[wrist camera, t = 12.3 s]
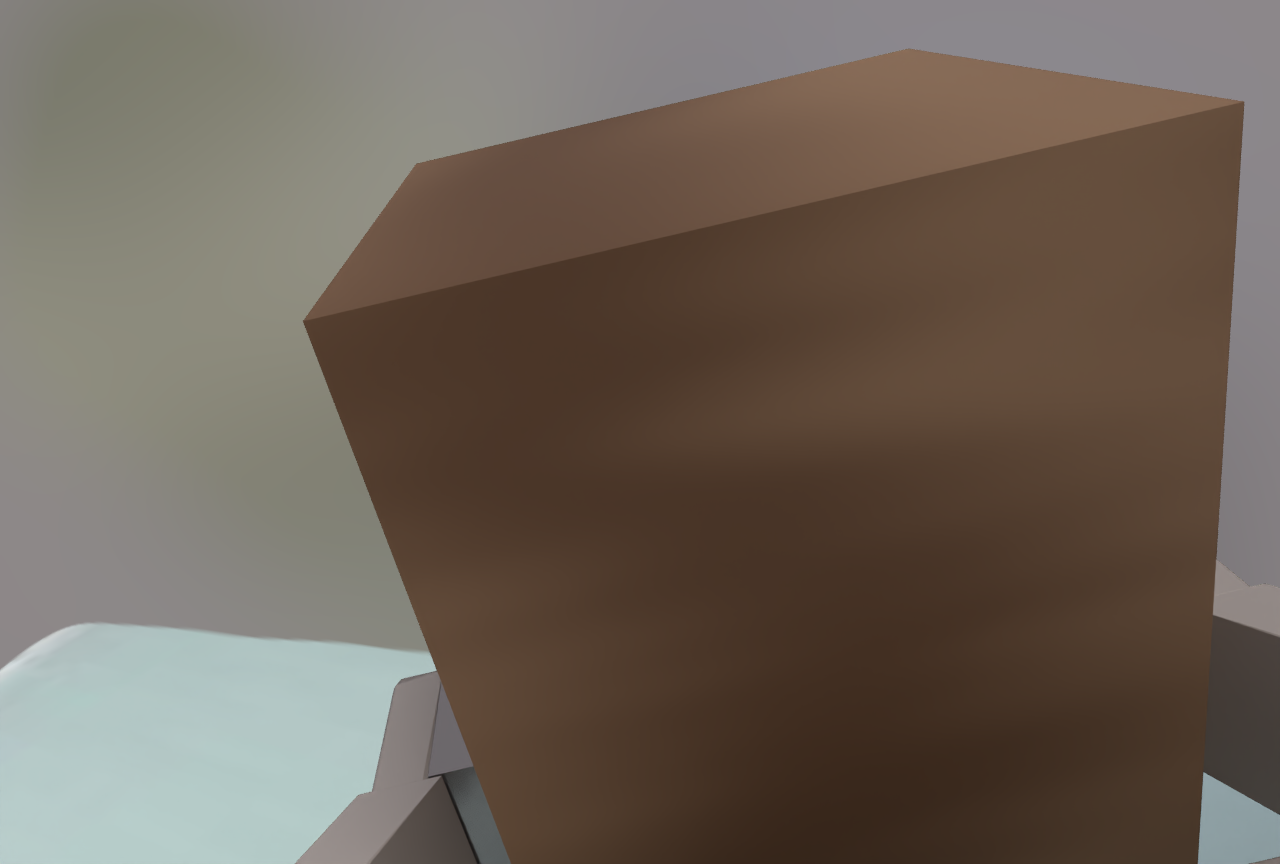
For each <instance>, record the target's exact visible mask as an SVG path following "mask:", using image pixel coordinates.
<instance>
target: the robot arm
mask: <svg viewBox="0 0 1280 864" xmlns="http://www.w3.org/2000/svg"><path fill="white" fill-rule="evenodd" d="M1203 772H1205V773H1206V774H1208V775H1210V776H1212V777H1213V778H1215V779H1217V780H1219V781H1221V782H1222V783H1224V784H1226V785H1228V786H1229V787H1231V788H1233V789H1235V790H1237V791H1238V792H1240V793H1242V794H1244V795H1245V796H1247V797H1249V798H1251V799H1253V800H1254V801H1256V802H1258V803H1260V804H1261V805H1263V806H1265V807H1267V808H1269V809H1270V810H1272V811H1274V812H1276V813H1277V814H1279V815H1280V588H1279V587H1276V586H1272V585H1269V584H1260V585H1256V586H1251V587H1250V586H1249V585H1247V584H1246V583H1245V582H1244V581H1243V580H1241V579H1240V578H1239V577H1238V576H1236V575H1235V574H1234V573H1233V572H1232V571H1230V570H1229V569H1228V568H1227V567H1225V566H1224V565H1223V564H1222V563H1221V562H1220V561H1218V560H1217V559H1216V572H1215V588H1214V604H1213V621H1212V637H1211V653H1210V670H1209V686H1208V702H1207V719H1206V735H1205V751H1204V768H1203ZM295 864H511V862H510V860H509V857H508V855H507V852H506V849H505V847H504V844H503V842H502V839H501V836H500V834H499V831H498V829H497V826H496V823H495V821H494V818H493V815H492V813H491V810H490V808H489V805H488V802H487V800H486V797H485V795H484V792H483V789H482V787H481V784H480V782H479V779H478V776H477V774H476V771H475V769H474V766H473V763H472V761H471V758H470V756H469V753H468V750H467V748H466V745H465V742H464V740H463V737H462V735H461V732H460V729H459V727H458V724H457V722H456V719H455V716H454V714H453V711H452V709H451V706H450V703H449V701H448V698H447V696H446V693H445V690H444V688H443V685H442V682H441V680H440V677H439V675H438V672H437V671H434V672H430V673H426V674H421V675H417V676H413V677H408V678H404V679H401V680H400V681H399V683H398V684H397V685H396V686H395V688H394V691H393V696H392V701H391V705H390V710H389V715H388V719H387V724H386V729H385V733H384V738H383V742H382V747H381V752H380V756H379V761H378V766H377V770H376V775H375V780H374V784H373V789H372V792H369V793H364V794H360V795H358V796H357V797H356V798H355V799H354V800H353V801H352V802H351V803H350V804H349V806H348V807H347V808H346V809H345V810H344V811H343V812H342V813H341V814H340V815H339V816H338V817H337V819H336V820H335V821H334V822H333V823H332V824H331V825H330V826H329V827H328V828H327V829H326V830H325V832H324V833H323V834H322V835H321V836H320V837H319V838H318V839H317V840H316V841H315V842H314V843H313V844H312V846H311V847H310V848H309V849H308V850H307V851H306V852H305V853H304V854H303V855H302V856H301V857H300V859H299V860H298V861H297V862H296V863H295ZM1250 864H1280V857H1276V858H1272V859H1267V860H1263V861H1259V862H1254V863H1250Z"/></svg>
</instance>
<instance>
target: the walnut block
mask: <svg viewBox="0 0 1280 864" xmlns="http://www.w3.org/2000/svg"><path fill="white" fill-rule="evenodd" d="M1243 115H1244V102H1243V101H1237V100H1231V99H1224V98H1218V97H1212V96H1205V95H1199V94H1193V93H1186V92H1180V91H1174V90H1167V89H1161V88H1155V87H1148V86H1142V85H1135V84H1129V83H1123V82H1116V81H1110V80H1104V79H1098V78H1091V77H1085V76H1079V75H1072V74H1066V73H1059V72H1053V71H1047V70H1041V69H1034V68H1028V67H1022V66H1015V65H1009V64H1003V63H996V62H990V61H984V60H977V59H971V58H965V57H958V56H952V55H946V54H939V53H933V52H927V51H920V50H914V49H905V50H901V51H896V52H892V53H888V54H884V55H879V56H875V57H871V58H867V59H862V60H858V61H854V62H850V63H845V64H841V65H837V66H833V67H828V68H824V69H819V70H815V71H811V72H807V73H803V74H798V75H794V76H790V77H785V78H781V79H777V80H773V81H768V82H764V83H760V84H756V85H751V86H747V87H742V88H738V89H734V90H730V91H725V92H721V93H717V94H713V95H708V96H704V97H700V98H696V99H691V100H687V101H683V102H678V103H674V104H670V105H666V106H661V107H657V108H653V109H648V110H644V111H640V112H635V113H631V114H627V115H623V116H619V117H614V118H610V119H606V120H601V121H597V122H593V123H588V124H584V125H580V126H576V127H571V128H567V129H563V130H558V131H554V132H550V133H546V134H541V135H537V136H533V137H529V138H525V139H520V140H516V141H512V142H507V143H503V144H499V145H494V146H490V147H486V148H482V149H478V150H473V151H469V152H465V153H460V154H456V155H452V156H447V157H443V158H439V159H434V160H430V161H426V162H422V163H417V164H416V165H415V167H414V168H413V169H412V171H411V172H410V173H409V175H408V176H407V177H406V179H405V180H404V182H403V183H402V184H401V186H400V187H399V189H398V190H397V191H396V193H395V194H394V196H393V197H392V198H391V200H390V201H389V202H388V204H387V205H386V207H385V208H384V210H383V211H382V212H381V214H380V215H379V216H378V218H377V219H376V221H375V222H374V223H373V225H372V226H371V227H370V229H369V231H368V232H367V233H366V234H365V236H364V237H363V239H362V240H361V241H360V243H359V244H358V246H357V247H356V248H355V250H354V251H353V253H352V254H351V255H350V257H349V258H348V260H347V261H346V262H345V264H344V265H343V266H342V268H341V269H340V271H339V272H338V273H337V275H336V276H335V277H334V279H333V280H332V282H331V283H330V284H329V286H328V287H327V289H326V290H325V291H324V293H323V294H322V295H321V297H320V298H319V300H318V301H317V302H316V304H315V305H314V307H313V308H312V310H311V311H310V312H309V314H308V315H307V316H306V318H305V319H304V320H303V323H304V325H305V328H306V330H307V333H308V335H309V338H310V341H311V343H312V346H313V349H314V351H315V354H316V356H317V359H318V362H319V364H320V367H321V369H322V372H323V375H324V377H325V380H326V382H327V385H328V388H329V390H330V393H331V395H332V398H333V401H334V403H335V406H336V409H337V411H338V414H339V416H340V419H341V422H342V424H343V427H344V430H345V432H346V435H347V437H348V440H349V443H350V445H351V448H352V450H353V453H354V456H355V458H356V461H357V463H358V466H359V468H360V471H361V473H362V476H363V479H364V482H365V484H366V487H367V489H368V492H369V495H370V497H371V500H372V502H373V505H374V508H375V510H376V513H377V516H378V518H379V521H380V523H381V526H382V528H383V531H384V534H385V536H386V539H387V542H388V544H389V547H390V549H391V552H392V555H393V557H394V560H395V562H396V565H397V568H398V570H399V573H400V576H401V578H402V581H403V583H404V586H405V589H406V591H407V594H408V596H409V599H410V602H411V604H412V607H413V609H414V612H415V615H416V617H417V620H418V622H419V625H420V628H421V630H422V633H423V636H424V638H425V641H426V643H427V646H428V648H429V651H430V654H431V656H432V659H433V662H434V664H435V667H436V669H437V672H438V675H439V677H440V680H441V682H442V685H443V688H444V690H445V693H446V696H447V698H448V701H449V703H450V706H451V709H452V711H453V714H454V716H455V719H456V722H457V724H458V727H459V729H460V732H461V735H462V737H463V740H464V742H465V745H466V748H467V750H468V753H469V756H470V758H471V761H472V763H473V766H474V769H475V771H476V774H477V776H478V779H479V782H480V784H481V787H482V789H483V792H484V795H485V797H486V800H487V802H488V805H489V808H490V810H491V813H492V815H493V818H494V821H495V823H496V826H497V829H498V831H499V834H500V836H501V839H502V842H503V844H504V847H505V849H506V852H507V855H508V857H509V860H510V862H511V864H1198V849H1199V833H1200V817H1201V800H1202V784H1203V768H1204V751H1205V735H1206V719H1207V702H1208V686H1209V670H1210V653H1211V637H1212V621H1213V604H1214V588H1215V572H1216V554H1217V539H1218V522H1219V507H1220V490H1221V474H1222V458H1223V440H1224V425H1225V424H1224V423H1225V408H1226V392H1227V375H1228V359H1229V343H1230V327H1231V311H1232V294H1233V278H1234V262H1235V245H1236V229H1237V211H1238V195H1239V180H1240V164H1241V163H1240V162H1241V148H1242V131H1243Z"/></svg>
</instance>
